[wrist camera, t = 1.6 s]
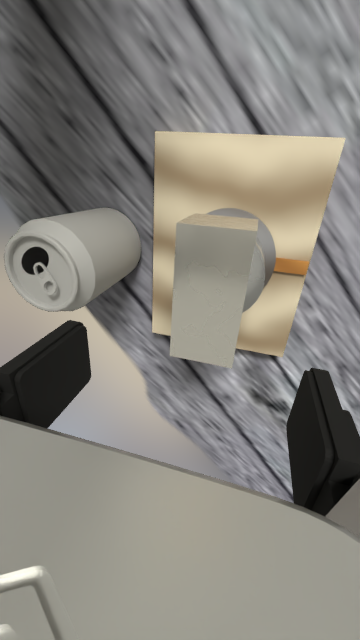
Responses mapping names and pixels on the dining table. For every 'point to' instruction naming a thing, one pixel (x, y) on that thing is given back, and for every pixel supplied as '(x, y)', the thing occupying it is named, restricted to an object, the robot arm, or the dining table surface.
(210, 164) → the base plate
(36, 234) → the can
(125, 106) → the dining table surface
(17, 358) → the robot arm
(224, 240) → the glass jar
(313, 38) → the dining table surface
